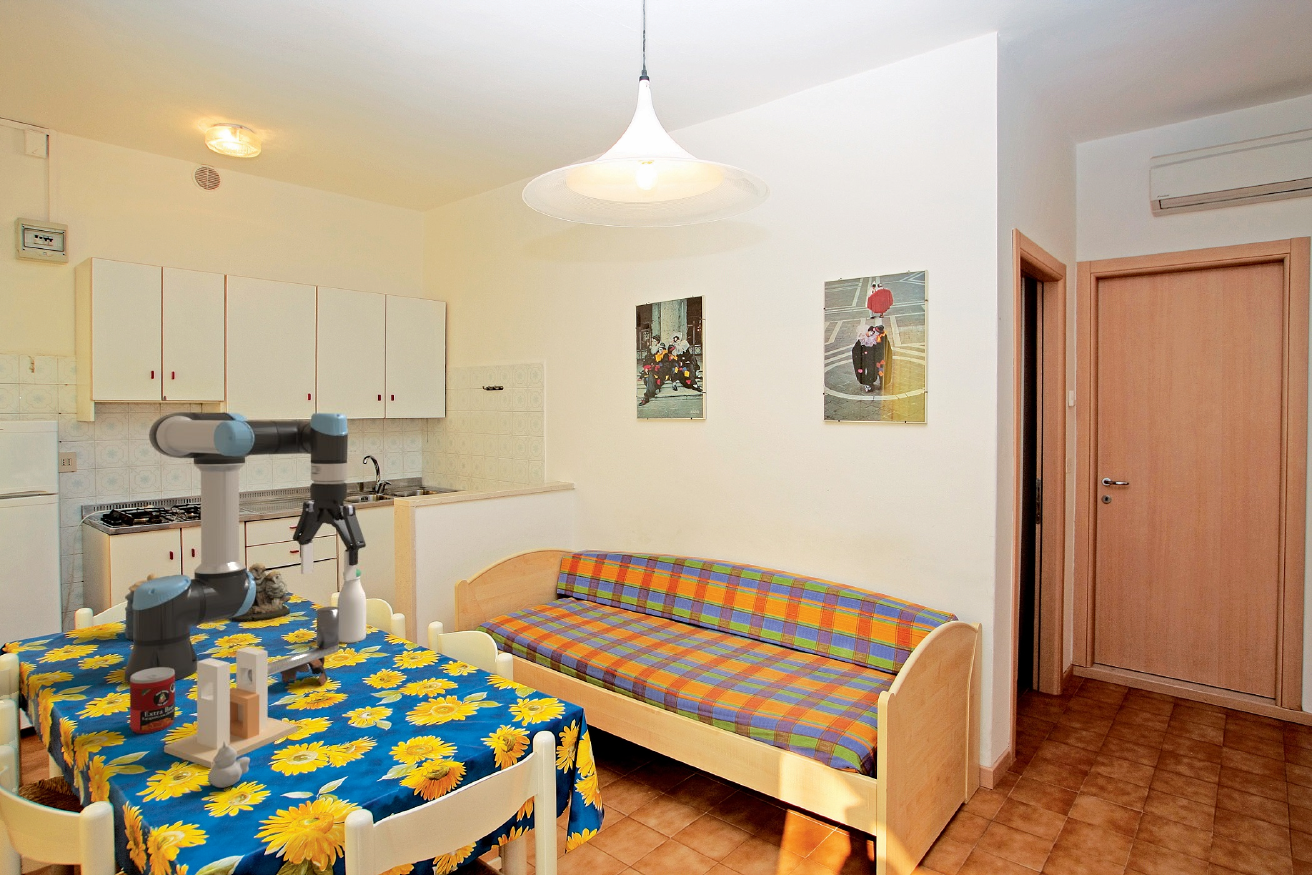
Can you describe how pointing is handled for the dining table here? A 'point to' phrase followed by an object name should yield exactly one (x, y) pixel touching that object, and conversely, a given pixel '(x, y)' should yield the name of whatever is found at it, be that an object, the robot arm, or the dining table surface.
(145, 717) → the canned food
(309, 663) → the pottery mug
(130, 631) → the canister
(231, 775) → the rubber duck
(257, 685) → the wooden twin post stand
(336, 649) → the shaft
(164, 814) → the dining table surface
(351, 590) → the milk bottle
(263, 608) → the owl figurine
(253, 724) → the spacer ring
